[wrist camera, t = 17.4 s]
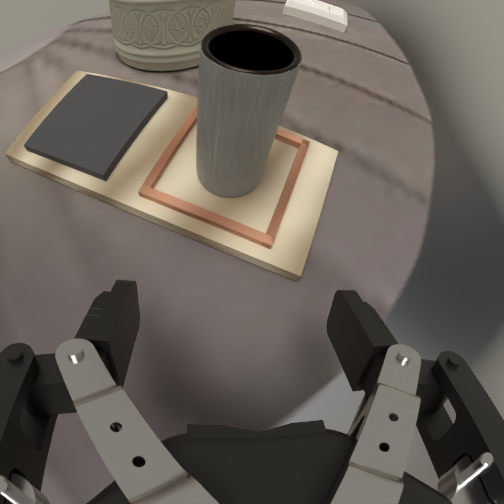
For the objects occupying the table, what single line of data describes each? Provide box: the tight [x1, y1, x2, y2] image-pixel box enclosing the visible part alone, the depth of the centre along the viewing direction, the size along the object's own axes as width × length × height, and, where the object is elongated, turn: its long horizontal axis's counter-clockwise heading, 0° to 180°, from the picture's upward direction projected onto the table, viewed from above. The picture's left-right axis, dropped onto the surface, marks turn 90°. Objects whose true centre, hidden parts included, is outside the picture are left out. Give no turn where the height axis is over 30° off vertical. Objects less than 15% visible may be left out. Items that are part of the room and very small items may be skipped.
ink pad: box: [24, 74, 168, 181], centre depth 20 cm, size 9×9×1 cm
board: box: [5, 71, 338, 281], centre depth 21 cm, size 26×11×2 cm, turn 69°
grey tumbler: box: [196, 24, 302, 197], centre depth 16 cm, size 4×4×10 cm
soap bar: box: [283, 0, 347, 33], centre depth 33 cm, size 5×9×3 cm, turn 77°
